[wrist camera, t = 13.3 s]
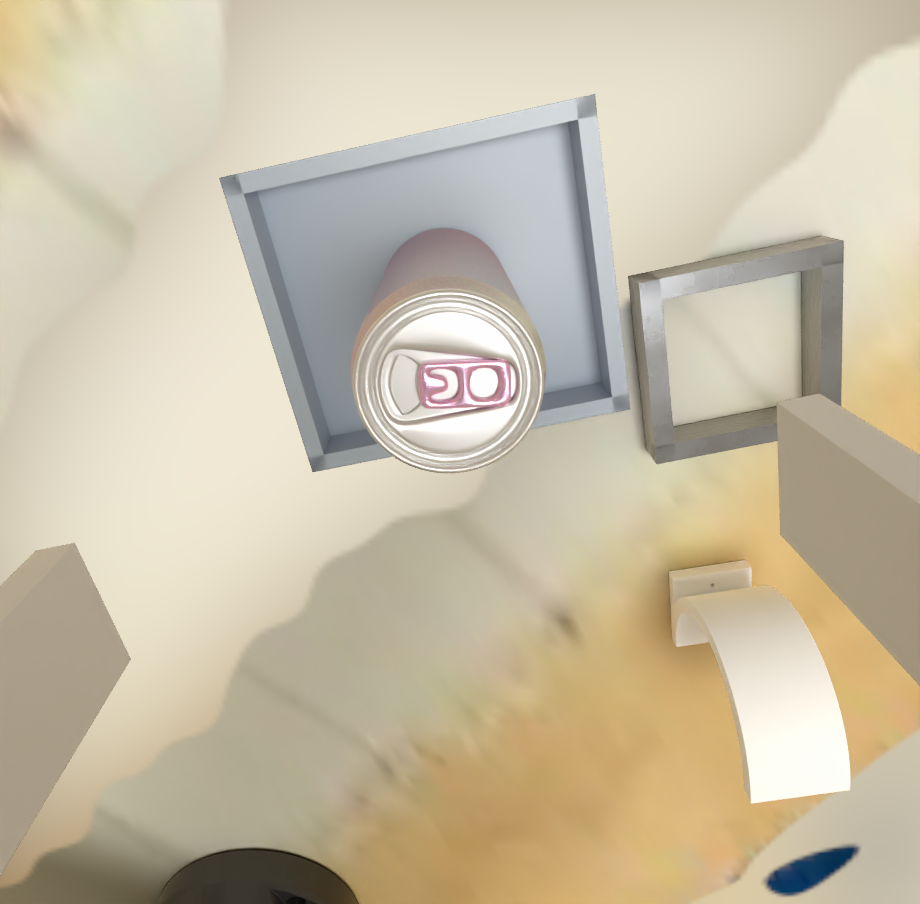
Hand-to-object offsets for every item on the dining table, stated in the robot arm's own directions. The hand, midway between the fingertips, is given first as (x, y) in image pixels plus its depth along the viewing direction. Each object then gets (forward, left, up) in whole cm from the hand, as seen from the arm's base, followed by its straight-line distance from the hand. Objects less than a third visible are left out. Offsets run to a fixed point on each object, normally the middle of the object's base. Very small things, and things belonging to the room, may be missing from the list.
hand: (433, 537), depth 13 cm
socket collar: (+14, -6, -24) cm, 28 cm away
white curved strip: (+12, -21, -24) cm, 34 cm away
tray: (0, 0, -24) cm, 24 cm away
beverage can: (0, 0, -23) cm, 23 cm away
